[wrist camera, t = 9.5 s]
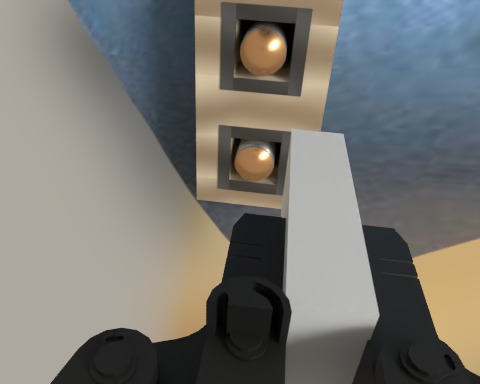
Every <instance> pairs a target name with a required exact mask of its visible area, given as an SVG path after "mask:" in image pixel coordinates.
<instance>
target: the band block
mask: <svg viewBox="0 0 480 384" xmlns="http://www.w3.org/2000/svg"><path fill="white" fill-rule="evenodd" d="M342 5H343V0H195V78H196V168H197V200H206V201H215V202H224V203H233V204H242V205H251V206H260V207H269V208H278V209H281V208H282V199H283V191H284V184H285V176H286V168H287V161H288V153H289V146H290V138H291V130H292V129H297V130H308V131H318V132H320V131H321V125H322V120H323V114H324V108H325V102H326V97H327V91H328V85H329V80H330V74H331V68H332V62H333V57H334V51H335V45H336V40H337V34H338V28H339V23H340V17H341V11H342ZM244 20H257V21H270V22H282V23H295V25H294V33H293V42H292V50H291V59H285V62H284V64H283V65H282V67H281V68H280V69H279V70H278V71H277V72H275V73H273V74H271V75H268V76H258V75H255V74H253V73H251V72H250V71H248V70H247V69H246V68H245V66H244V65H243V63H242V60H241V57H240V47H241V44H242V41H243V35H244ZM238 138H240V139H250V140H260V141H270V142H280V143H281V144H280V152H279V153H275V162H274V168H273V171H272V173H271V174H270V175H269V176H268V177H267V178H265V179H263V180H260V181H250V180H247V179H245V178H243V177H241V176H240V175H239V174H238V172H237V170H236V168H235V157H236V153H237V149H238Z"/></svg>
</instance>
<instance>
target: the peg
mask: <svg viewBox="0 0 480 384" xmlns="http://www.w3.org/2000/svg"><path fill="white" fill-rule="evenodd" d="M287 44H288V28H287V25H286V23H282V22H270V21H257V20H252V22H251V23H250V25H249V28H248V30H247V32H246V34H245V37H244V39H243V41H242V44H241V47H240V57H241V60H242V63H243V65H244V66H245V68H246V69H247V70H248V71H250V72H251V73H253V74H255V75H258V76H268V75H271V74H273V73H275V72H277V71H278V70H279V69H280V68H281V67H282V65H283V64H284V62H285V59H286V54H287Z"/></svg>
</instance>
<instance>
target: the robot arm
mask: <svg viewBox="0 0 480 384" xmlns="http://www.w3.org/2000/svg"><path fill="white" fill-rule="evenodd" d="M417 276H418V275H417V272H416V269H415V266H414V264H413V260H412V257H411V254H410V250H409V247H408V244H407V243H406V242H405V241H404V240H403V239H402V237H401V236H400V235H399V234H398V233H397V232H396V231H395V229H393V228H384V227H375V226H366V225H361V220H360V215H359V210H358V205H357V200H356V195H355V190H354V185H353V180H352V175H351V170H350V165H349V160H348V155H347V150H346V145H345V140H344V135H343V134H338V133H328V132H318V131H308V130H297V129H292V130H291V138H290V146H289V153H288V161H287V168H286V176H285V184H284V191H283V199H282V208H281V217H274V216H265V215H256V214H247V213H245V214H244V215H243V216H242V217H241V218H240V219H239V220H238V221H237V222H236V224H235V225H234V226H233V231H232V236H231V240H230V245H229V250H228V256H227V259H226V264H225V269H224V274H223V278H222V282H221V283H220V284H219V285H218V286H216V287H215V288H214V289H213V290H212V292H211V294H210V296H209V298H208V300H207V303H206V304H207V305H206V308H207V309H206V325H205V326H204V327H203V328H201V329H200V330H199V331H197V332H195V333H193V334H191V335H189V336H186V337H183V338H179V339H174V340H168V341H162V342H156V343H152V342H151V340H150V339H149V337H147V336H145V335H144V334H142V333H141V332H139V331H137V330H132V329H126V328H118V329H112V330H106V331H104V332H102V333H100V334H98V335H96V336H94V337H92V338H90V339H89V340H88V341H87V342H86V343H84V344H83V345H82V346H81V347H80V348H79V349H78V350H77V351H76V353H75V354H74V355H73V356H72V358H71V359H70V360H69V361H68V362H67V364H66V365H65V366H64V367H63V369H62V370H61V371H60V372H59V374H58V375H57V376H56V377H55V379H54V380H53V381H52V382H51V384H480V376H478V375H476V374H474V373H472V372H470V371H469V370H467V369H466V368H465V367H464V365H463V363H462V362H461V360H460V358H459V356H458V355H457V354H456V353H455V352H454V351H453V350H452V349H451V348H450V347H449V346H448V345H447V344H446V343H445V342H443V341H441V340H439V338H438V335H437V333H436V330H435V327H434V324H433V321H432V318H431V315H430V312H429V309H428V306H427V303H426V300H425V297H424V293H423V290H422V287H421V284H420V281H419V279H417Z"/></svg>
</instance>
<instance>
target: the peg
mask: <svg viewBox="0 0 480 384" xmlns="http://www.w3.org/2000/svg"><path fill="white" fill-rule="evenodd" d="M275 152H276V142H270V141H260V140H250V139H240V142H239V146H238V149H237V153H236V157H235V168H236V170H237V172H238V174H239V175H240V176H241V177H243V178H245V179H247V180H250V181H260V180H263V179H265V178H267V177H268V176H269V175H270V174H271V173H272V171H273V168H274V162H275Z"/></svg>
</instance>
